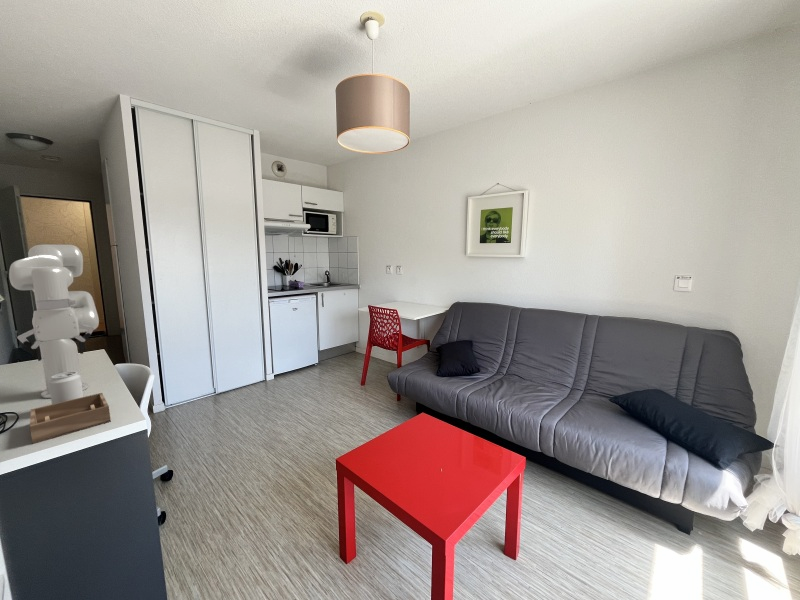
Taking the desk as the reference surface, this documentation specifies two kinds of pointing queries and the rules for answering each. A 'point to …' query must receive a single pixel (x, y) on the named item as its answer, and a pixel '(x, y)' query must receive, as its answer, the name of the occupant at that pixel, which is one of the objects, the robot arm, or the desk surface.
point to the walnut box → (68, 417)
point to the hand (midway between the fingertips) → (61, 356)
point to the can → (65, 387)
